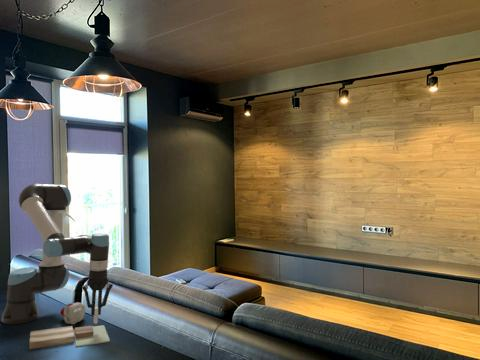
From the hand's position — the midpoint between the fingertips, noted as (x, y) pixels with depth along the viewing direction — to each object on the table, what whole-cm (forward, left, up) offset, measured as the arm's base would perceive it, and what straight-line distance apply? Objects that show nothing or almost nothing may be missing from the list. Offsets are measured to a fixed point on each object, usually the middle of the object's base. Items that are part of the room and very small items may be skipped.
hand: (95, 322), depth 159 cm
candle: (-19, -8, -5) cm, 21 cm away
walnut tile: (+1, -5, -4) cm, 6 cm away
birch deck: (0, -17, -5) cm, 18 cm away
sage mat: (+2, -2, -5) cm, 6 cm away
